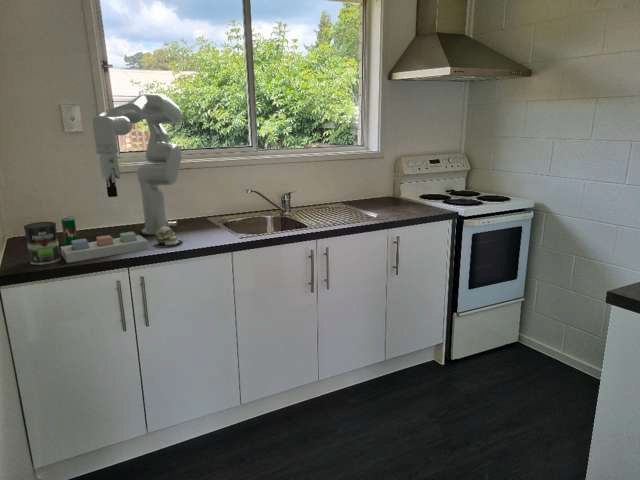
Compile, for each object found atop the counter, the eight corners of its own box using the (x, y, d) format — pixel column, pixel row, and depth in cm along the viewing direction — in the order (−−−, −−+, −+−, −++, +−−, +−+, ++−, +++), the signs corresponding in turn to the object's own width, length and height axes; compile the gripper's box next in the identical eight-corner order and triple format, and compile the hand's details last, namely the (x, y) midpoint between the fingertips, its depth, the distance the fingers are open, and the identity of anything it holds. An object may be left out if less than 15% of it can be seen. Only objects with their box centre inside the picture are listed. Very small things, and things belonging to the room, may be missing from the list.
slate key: (86, 248, 183) (85, 238, 182) (89, 251, 180) (87, 241, 178) (72, 250, 180) (71, 240, 179) (75, 253, 177) (73, 243, 176)
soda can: (75, 242, 200) (71, 215, 197) (80, 244, 197) (76, 216, 194) (62, 244, 196) (58, 217, 193) (68, 246, 193) (63, 218, 190)
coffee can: (63, 261, 174) (57, 225, 170) (31, 266, 168) (24, 229, 164) (59, 255, 182) (53, 220, 178) (28, 259, 176) (22, 223, 173)
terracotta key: (110, 244, 189) (109, 234, 188) (113, 247, 185) (112, 237, 184) (97, 246, 186) (96, 236, 185) (100, 249, 182) (99, 239, 181)
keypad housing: (140, 242, 199) (139, 234, 198) (148, 248, 190) (147, 240, 189) (61, 255, 182) (60, 246, 181) (67, 262, 172) (66, 253, 172)
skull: (190, 240, 199) (176, 226, 191) (177, 260, 195) (163, 246, 187) (170, 235, 205) (157, 222, 197) (158, 254, 201) (143, 241, 193)
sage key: (133, 240, 194) (132, 231, 193) (136, 243, 190) (135, 233, 189) (120, 242, 191) (119, 233, 190) (124, 245, 187) (123, 235, 186)
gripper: (122, 150, 174) (127, 198, 179) (112, 147, 186) (117, 193, 191) (101, 151, 170) (107, 200, 175) (92, 148, 182) (98, 195, 186)
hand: (112, 196), depth 183 cm, fingers closed
